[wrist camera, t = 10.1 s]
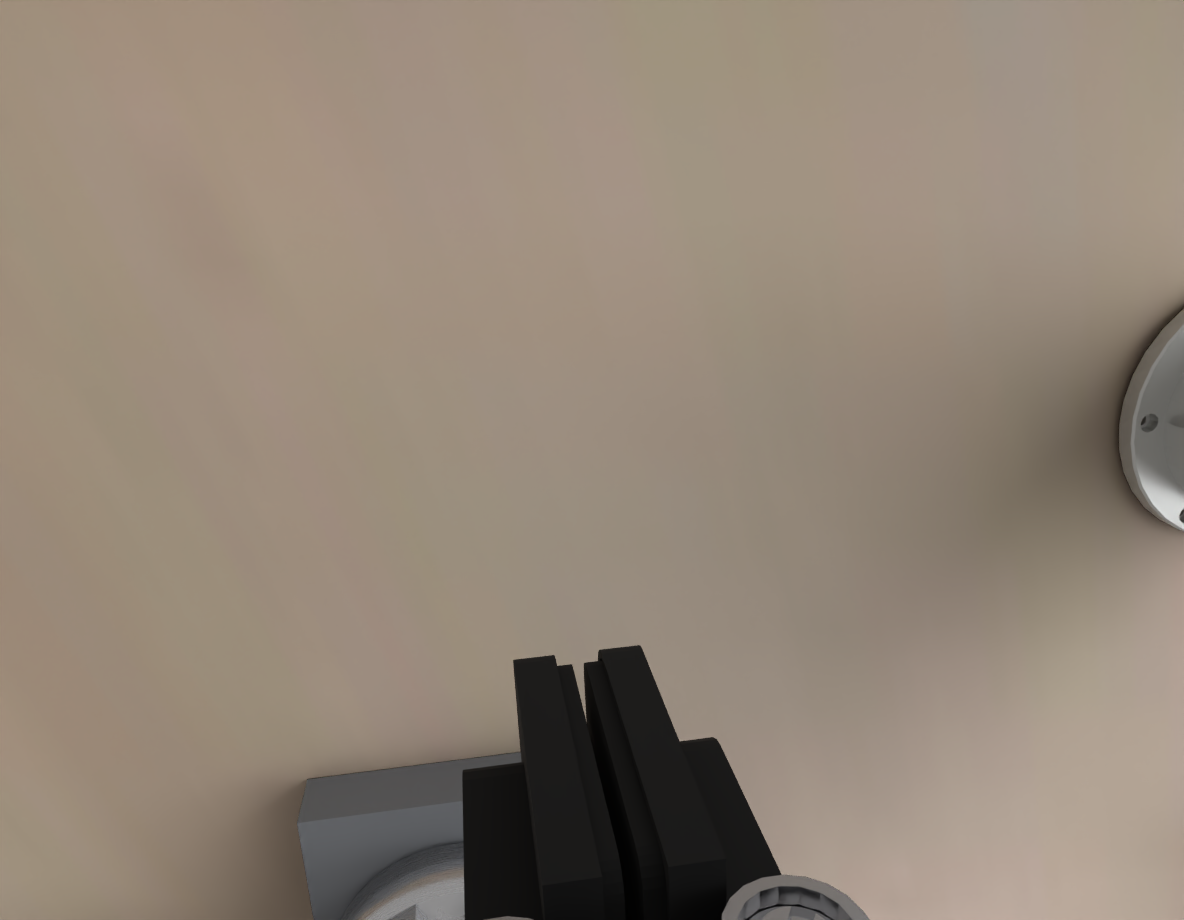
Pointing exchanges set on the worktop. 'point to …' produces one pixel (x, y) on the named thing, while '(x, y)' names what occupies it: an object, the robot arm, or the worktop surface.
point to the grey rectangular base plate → (377, 824)
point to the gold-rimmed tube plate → (415, 888)
